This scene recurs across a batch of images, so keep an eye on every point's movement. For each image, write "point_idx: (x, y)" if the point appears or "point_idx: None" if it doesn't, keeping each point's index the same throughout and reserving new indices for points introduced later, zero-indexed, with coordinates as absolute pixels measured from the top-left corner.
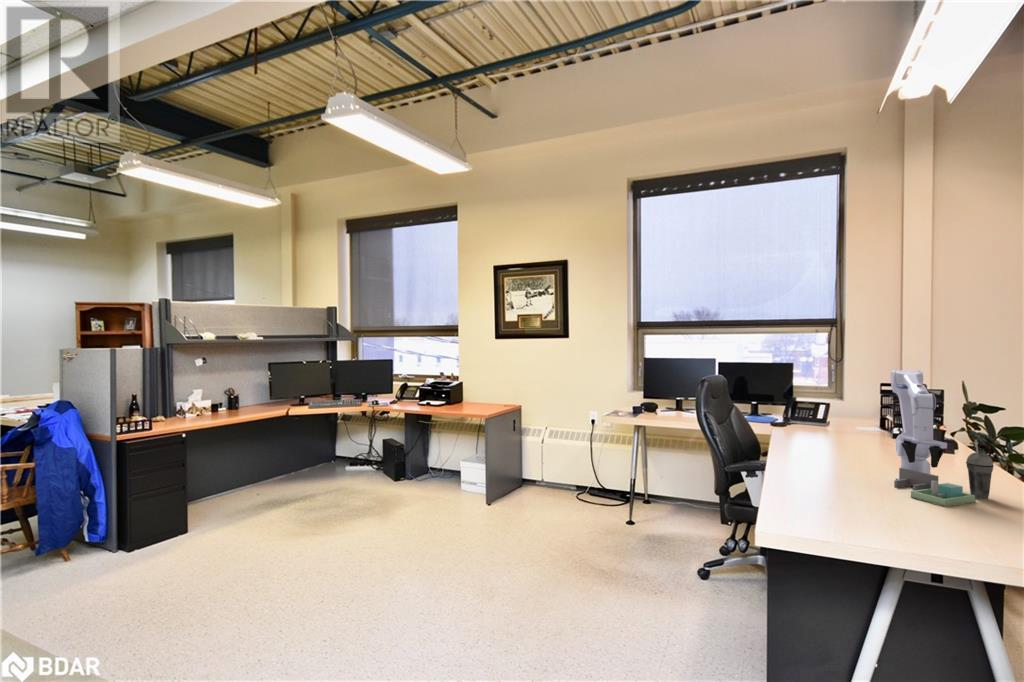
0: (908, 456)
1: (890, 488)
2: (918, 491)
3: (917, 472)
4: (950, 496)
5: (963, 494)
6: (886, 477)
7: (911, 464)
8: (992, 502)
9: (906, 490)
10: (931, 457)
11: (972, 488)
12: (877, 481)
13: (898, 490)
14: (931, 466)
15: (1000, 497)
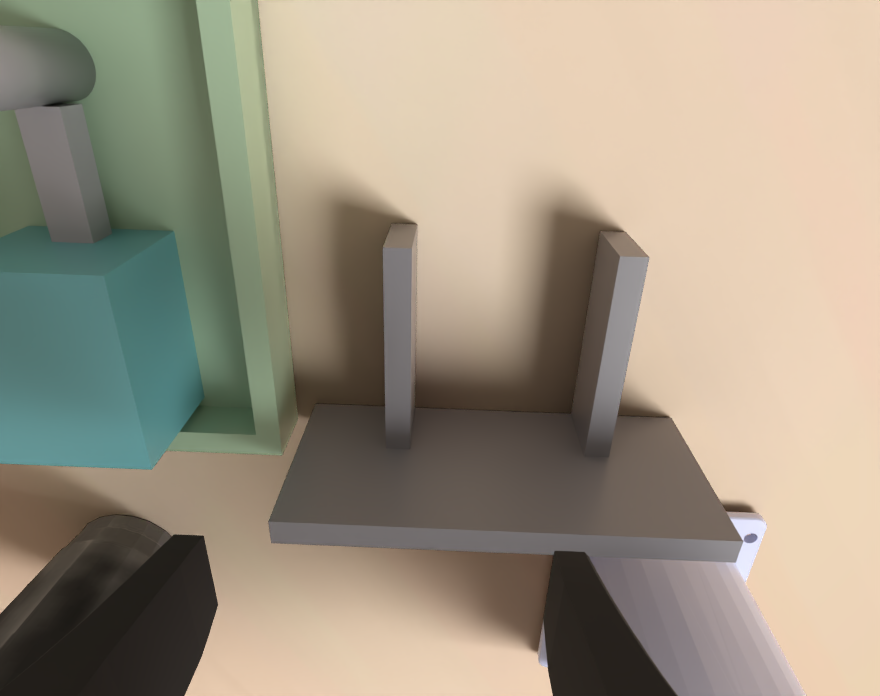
0: (608, 637)
1: (620, 128)
2: (202, 32)
3: (504, 524)
4: (8, 234)
5: None
6: (847, 521)
7: (676, 692)
8: (5, 511)
9: (485, 224)
10: (69, 687)
11: (92, 572)
12: (851, 301)
13: (524, 130)
14: (193, 541)
15: None
